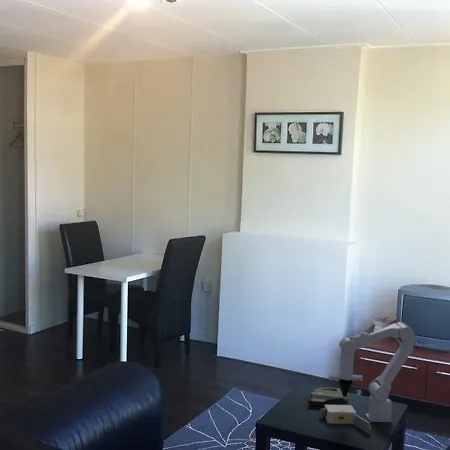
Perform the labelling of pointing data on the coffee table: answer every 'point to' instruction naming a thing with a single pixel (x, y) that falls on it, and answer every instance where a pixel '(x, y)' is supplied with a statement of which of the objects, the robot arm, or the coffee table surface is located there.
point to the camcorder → (327, 397)
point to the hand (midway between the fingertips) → (344, 396)
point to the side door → (361, 423)
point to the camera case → (338, 413)
